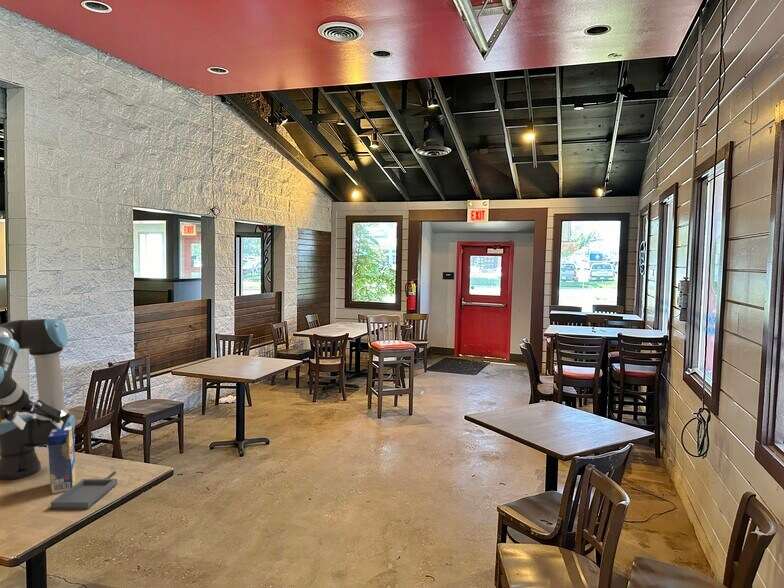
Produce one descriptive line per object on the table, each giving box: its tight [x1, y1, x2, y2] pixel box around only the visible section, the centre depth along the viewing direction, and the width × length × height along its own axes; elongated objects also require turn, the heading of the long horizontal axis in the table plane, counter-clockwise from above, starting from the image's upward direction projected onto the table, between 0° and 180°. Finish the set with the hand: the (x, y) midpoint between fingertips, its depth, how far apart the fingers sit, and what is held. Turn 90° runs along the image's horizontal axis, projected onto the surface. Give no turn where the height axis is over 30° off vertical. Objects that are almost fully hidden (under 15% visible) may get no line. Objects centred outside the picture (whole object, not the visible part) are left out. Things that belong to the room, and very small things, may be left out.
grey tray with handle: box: [50, 470, 118, 510], centre depth 201 cm, size 30×13×2 cm, turn 0°
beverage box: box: [47, 426, 77, 494], centre depth 204 cm, size 7×11×22 cm, turn 25°
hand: (42, 426), depth 191 cm, fingers open, 13 cm apart
